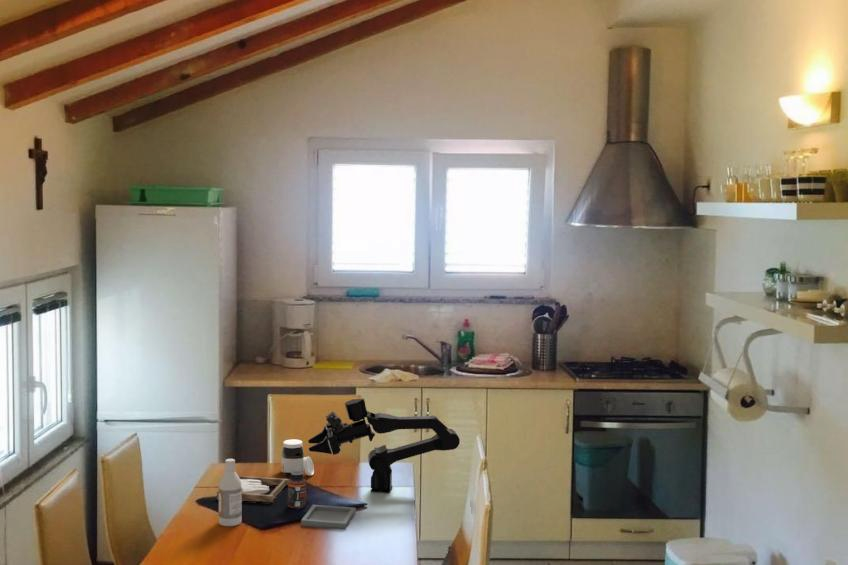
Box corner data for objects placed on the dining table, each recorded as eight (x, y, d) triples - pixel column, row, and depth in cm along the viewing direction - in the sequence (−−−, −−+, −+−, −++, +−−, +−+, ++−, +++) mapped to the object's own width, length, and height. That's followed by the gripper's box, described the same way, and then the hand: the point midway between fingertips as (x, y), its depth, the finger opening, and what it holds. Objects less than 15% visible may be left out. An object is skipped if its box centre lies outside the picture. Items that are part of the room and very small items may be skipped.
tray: (355, 513, 296) (355, 507, 296) (345, 529, 282) (345, 523, 282) (313, 510, 298) (313, 504, 298) (301, 525, 284) (301, 520, 284)
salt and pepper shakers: (238, 501, 305) (271, 498, 309) (238, 489, 305) (272, 486, 309) (231, 490, 316) (264, 487, 320) (232, 478, 316) (264, 475, 320)
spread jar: (280, 469, 339) (280, 438, 337) (310, 467, 342) (310, 436, 341) (285, 480, 327) (285, 448, 326) (316, 477, 331) (316, 445, 329)
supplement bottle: (302, 510, 297) (302, 476, 296) (284, 508, 299) (285, 474, 297) (308, 504, 303) (308, 470, 302) (291, 502, 304) (291, 469, 303)
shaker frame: (288, 486, 321) (288, 479, 321) (272, 503, 303) (272, 496, 303) (235, 482, 323) (235, 475, 323) (217, 499, 306) (217, 492, 305)
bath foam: (217, 519, 288) (217, 457, 286) (240, 518, 290) (240, 455, 288) (219, 527, 281) (219, 464, 279) (242, 525, 283) (242, 462, 281)
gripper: (344, 403, 323) (301, 416, 322) (347, 416, 305) (302, 431, 303) (353, 432, 325) (310, 446, 324) (357, 448, 307) (312, 462, 305)
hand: (308, 445), depth 314 cm, fingers open, 9 cm apart
